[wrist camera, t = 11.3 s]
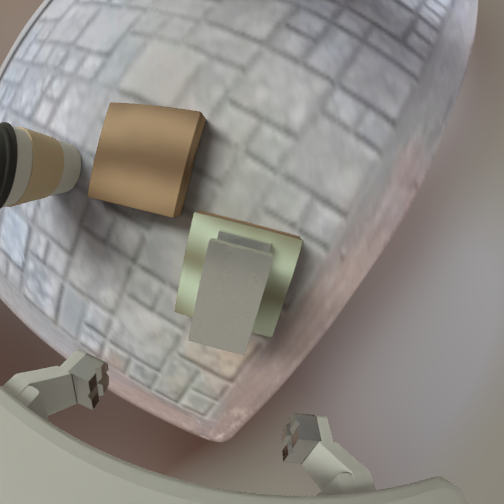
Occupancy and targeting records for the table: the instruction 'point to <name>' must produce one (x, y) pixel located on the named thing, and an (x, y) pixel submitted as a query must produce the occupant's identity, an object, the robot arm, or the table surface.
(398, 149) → the table surface
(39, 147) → the coffee cup
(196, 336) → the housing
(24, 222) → the table surface
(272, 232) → the stand
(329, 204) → the table surface
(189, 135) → the stand
